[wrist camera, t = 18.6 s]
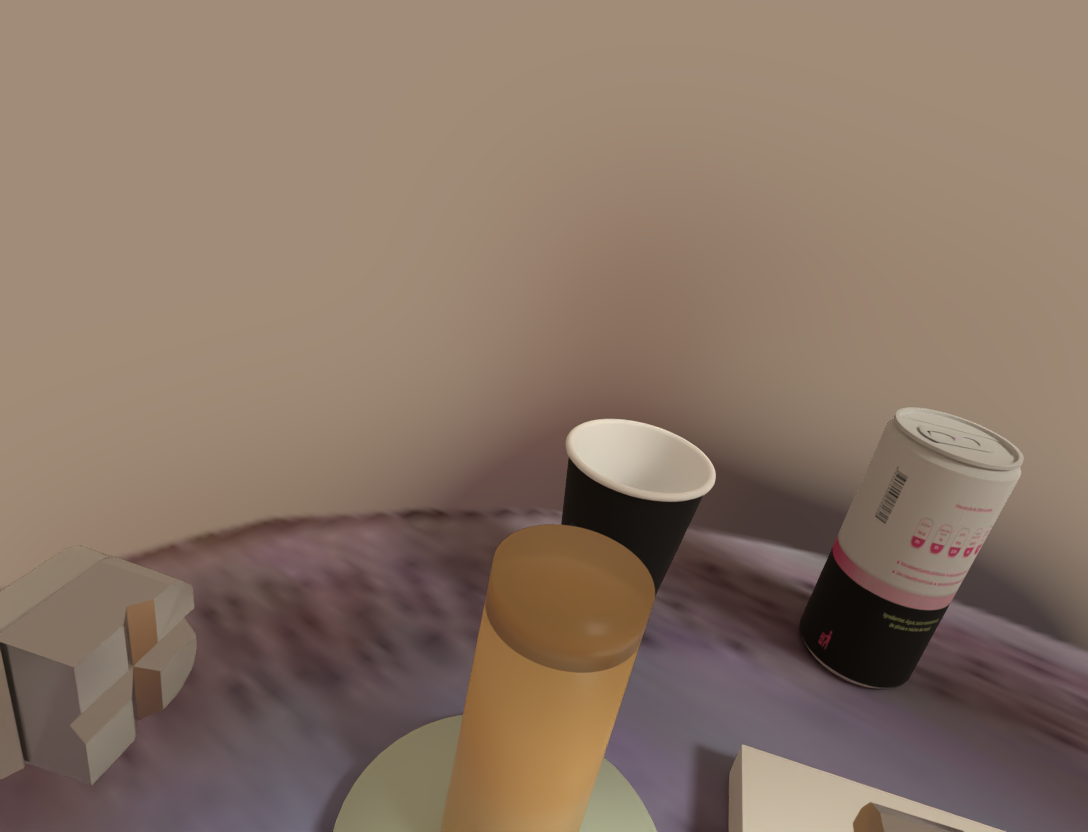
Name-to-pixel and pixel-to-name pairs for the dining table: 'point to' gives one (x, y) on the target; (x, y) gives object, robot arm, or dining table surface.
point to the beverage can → (907, 544)
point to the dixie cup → (635, 487)
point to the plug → (546, 679)
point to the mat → (423, 781)
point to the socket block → (811, 798)
